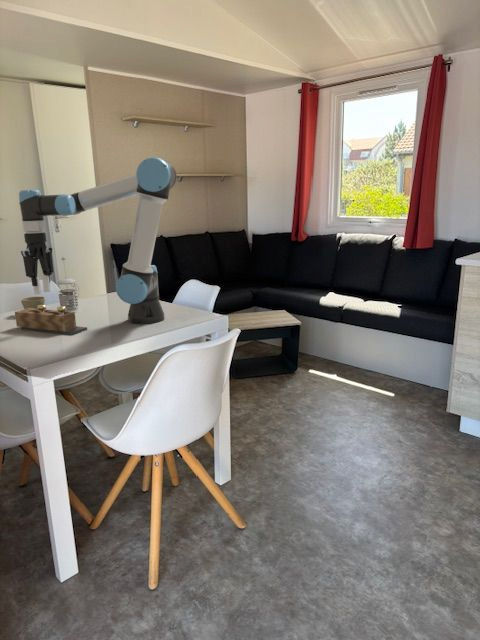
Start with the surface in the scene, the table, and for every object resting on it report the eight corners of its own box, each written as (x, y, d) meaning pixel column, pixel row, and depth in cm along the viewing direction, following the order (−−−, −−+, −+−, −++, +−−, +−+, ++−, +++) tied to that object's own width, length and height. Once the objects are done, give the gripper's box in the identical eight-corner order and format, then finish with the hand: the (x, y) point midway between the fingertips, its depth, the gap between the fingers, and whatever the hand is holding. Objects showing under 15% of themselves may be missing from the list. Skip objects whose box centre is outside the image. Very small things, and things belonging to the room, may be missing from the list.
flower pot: (38, 316, 207) (36, 301, 205) (18, 316, 209) (15, 300, 207) (51, 311, 216) (49, 296, 215) (32, 311, 218) (30, 296, 217)
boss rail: (87, 329, 183) (84, 306, 181) (73, 335, 176) (70, 310, 174) (37, 324, 193) (34, 302, 191) (21, 329, 186) (18, 306, 184)
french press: (53, 312, 214) (46, 258, 208) (71, 307, 224) (65, 255, 218) (70, 314, 210) (64, 258, 204) (88, 308, 220) (82, 255, 214)
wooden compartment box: (76, 326, 184) (74, 311, 183) (63, 331, 178) (61, 316, 177) (30, 322, 193) (28, 308, 192) (16, 326, 187) (14, 311, 186)
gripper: (44, 230, 186) (51, 288, 191) (8, 234, 170) (17, 296, 176) (58, 230, 183) (65, 289, 189) (24, 234, 167) (32, 297, 173)
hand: (42, 292), depth 182 cm, fingers open, 4 cm apart
